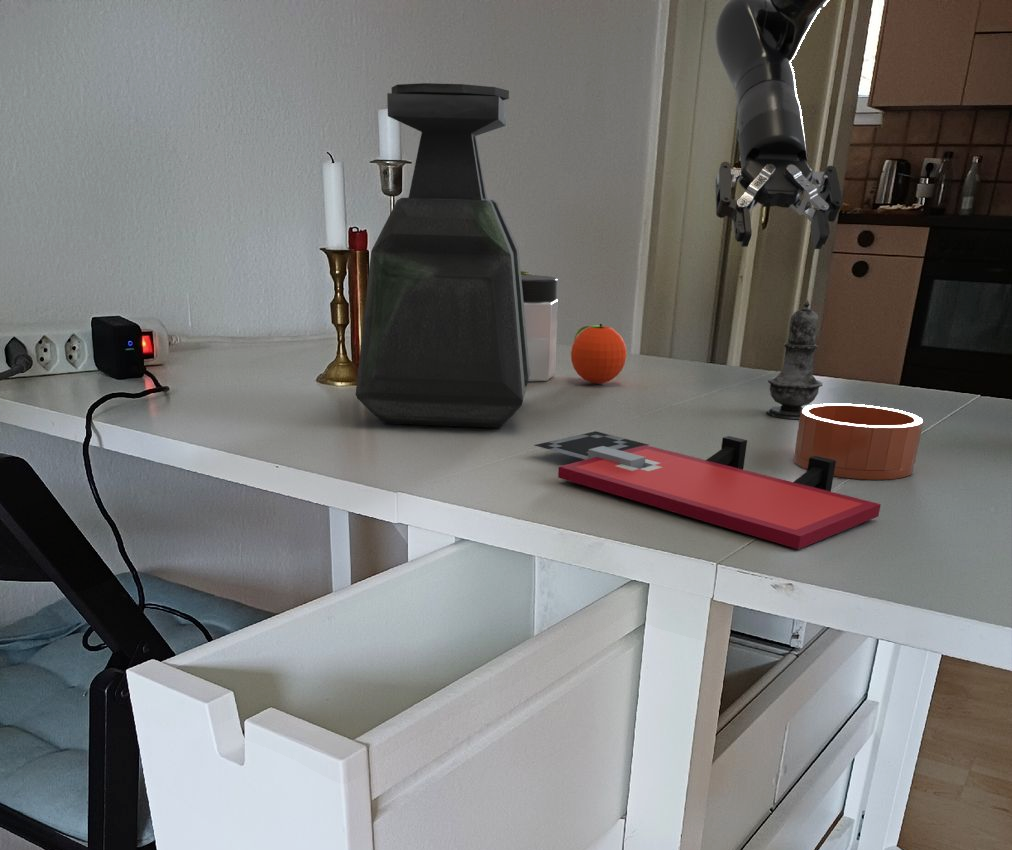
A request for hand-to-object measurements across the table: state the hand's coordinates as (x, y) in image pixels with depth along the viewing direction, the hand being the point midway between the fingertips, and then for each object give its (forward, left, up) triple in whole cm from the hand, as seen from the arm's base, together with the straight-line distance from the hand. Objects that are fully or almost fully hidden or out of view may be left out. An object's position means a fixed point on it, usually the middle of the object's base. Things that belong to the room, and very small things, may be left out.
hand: (783, 242), depth 116 cm
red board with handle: (+18, +43, -17) cm, 50 cm away
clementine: (+20, -7, -17) cm, 27 cm away
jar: (+29, -10, -17) cm, 35 cm away
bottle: (+38, +15, -17) cm, 44 cm away
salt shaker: (0, +11, -17) cm, 21 cm away
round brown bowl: (+1, +34, -17) cm, 38 cm away
